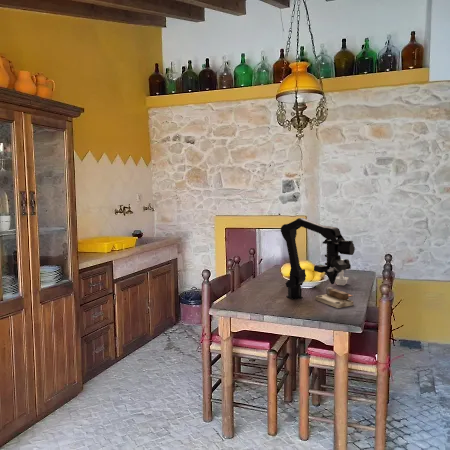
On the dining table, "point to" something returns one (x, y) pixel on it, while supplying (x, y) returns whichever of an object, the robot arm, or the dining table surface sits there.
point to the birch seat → (334, 301)
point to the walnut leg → (337, 293)
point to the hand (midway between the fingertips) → (332, 284)
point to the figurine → (341, 278)
